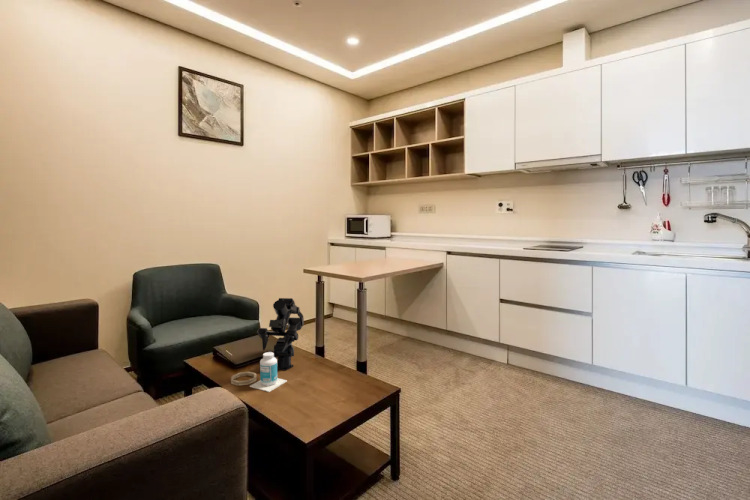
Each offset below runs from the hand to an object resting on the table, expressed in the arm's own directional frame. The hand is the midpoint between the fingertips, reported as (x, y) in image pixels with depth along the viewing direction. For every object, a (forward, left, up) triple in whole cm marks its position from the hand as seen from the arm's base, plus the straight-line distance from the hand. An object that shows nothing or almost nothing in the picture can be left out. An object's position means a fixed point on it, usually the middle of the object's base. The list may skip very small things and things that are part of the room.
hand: (272, 350), depth 171 cm
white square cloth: (+5, +2, -14) cm, 14 cm away
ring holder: (+7, -11, -14) cm, 19 cm away
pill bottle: (+4, +1, -13) cm, 14 cm away
